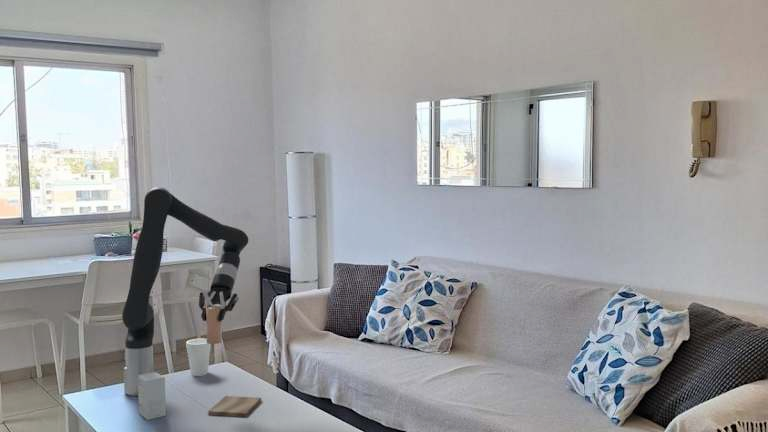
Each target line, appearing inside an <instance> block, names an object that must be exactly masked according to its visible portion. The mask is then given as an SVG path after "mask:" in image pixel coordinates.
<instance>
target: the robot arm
mask: <svg viewBox="0 0 768 432" xmlns="http://www.w3.org/2000/svg"><path fill="white" fill-rule="evenodd" d="M143 203H144V204H143V205H144V206H143V207H144V209H143V219H142V227H141V230H140V233H139V236H138V239H137V242H136V245H135V246H136V247H135V250H134V255H133V261H132V267H131V268H132V269H131V275H130V283H129V290H128V295H127V298H126V301H125V304H124V307H123V310H122V316H121V318H122V323H123V324H124V326H125V327H126V328H127V335H126V338H125V367H123V381H124V382H123V386H124V387H123V388H124V389H123V390H124V394H125V395H128V396H131V397H138V375H142V374H147V373H153V372H154V347H153V346H154V345H153V339H154V334H155V314H154V309H153V306H152V305H151V304H150V296H151V292H152V289H153V286H154V284H155V281H156V279H157V277H158V274H159V271H160V268H161V263H162V256H163V250H164V234H165V233H164V231H165V226H166V222H167V218H168V216H170V217H172V218H173V219H175V220H178V221H180V222H181V223H182V224H184V225H186V226H187V227H188V228H190V229H192V230H193V231H195V232H196V233H198V234H199V235H201V236H202V237H204V238H206V239H208V240H210V241H212V242H217V241H220V240H223V241H224V242H223V245H222V248H221V255H220V256H221V257H220V259H219V263H218V266H217V268H216V269H215V272H214V274H213V278H212V281H211V285H210V289H209V290H208V291H207V292H205V293H204V292H201V291H200V293H199V296H198V297H199V298H198V307H199V308H200V310H201V317H200V318H201V319H202V321H203V322H206V307H210V306H216V305H219V306H220V307H221V309H220V312H219V315H218V321H219V322H221V323H222V322H223V320H224V319H225V316H226V313H227V312H232V311H233V309H234V308H235V306H236V304H237V303H238V301H239V296H238V293H236V292H235V293H232V292H233V289H234V286H235V282H236V281H237V280H236V279H237V275H238V272H239V271H238V270H239V267H240V263H241V257H240V254H241V252H242V251H243V250H244V249H245V248H246V246H247V245H248V243H249V237H248V235H247V233H246V232H245V231H243V230H242V229H239V228H236V227H233V226H230V225H226V224H222V223H221V222H219V221H217V220H216V219H213V218H211V217H209V216H208V215H205V213H202V212H200V211H197V210H196V209H194V208H192V207H191V206H189V205H187V204H186V203H184V202H182V201H181V200H179V199H178V197H176V196H174V195H173V194H172V193H171V192H170V191H169V190H168V189H166V188H164V187H162V186H155V187H152V188H150V189H149V190H148V191H147V193H145V195H144V202H143ZM207 298H208V299H207ZM228 300H229V302H228V303H227V301H228Z"/></svg>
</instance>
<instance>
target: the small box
mask: <svg viewBox="0 0 768 432" xmlns="http://www.w3.org/2000/svg"><path fill="white" fill-rule="evenodd" d="M165 378H166V377H165V376H163V375H162V374H160V373H159V372H157V371H153V373H147V374H142V375H138V396H137V398H138V414H139V415H140V416H142V417H143V418H144V419H145V420H152V419H154V420H155V419H156V418H162V417H165V416H166V415H167V413H166V412H167V411H166V410H167V409H166V405H167V404H166V379H165Z"/></svg>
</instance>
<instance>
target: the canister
mask: <svg viewBox="0 0 768 432" xmlns="http://www.w3.org/2000/svg"><path fill="white" fill-rule="evenodd" d="M220 309H222V308H221V305H219V306H218V305H214V306H210V307H206V321H205V322H206V323H205V328H206V339H207V343H208V344H211V345H216V344H217V345H218V344H221V343H222V341H223V340H222V337H223V336H222V335H223V334H222V321H221V322H219V321H218V315H219V312H220Z"/></svg>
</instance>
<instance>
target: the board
mask: <svg viewBox="0 0 768 432" xmlns="http://www.w3.org/2000/svg"><path fill="white" fill-rule="evenodd" d="M261 401H262V397H257V396H256V397H255V396H253V397H252V396H237V395H235V396H234V395H225V396H224V397H223V398H221V399H220V400H219V401H218V402H217V403H216V404H215V405H214V406H213V407H211V408H210V409H209V410H208V412H207V413H208V416H210V415H211V416H227V417H241V418H242V417H244V418H247V416H249V414H250V413H251V412H252V411H253V410H254V409H255V408H256V407H257V406H258V405H259V404H260V403H261Z"/></svg>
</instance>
